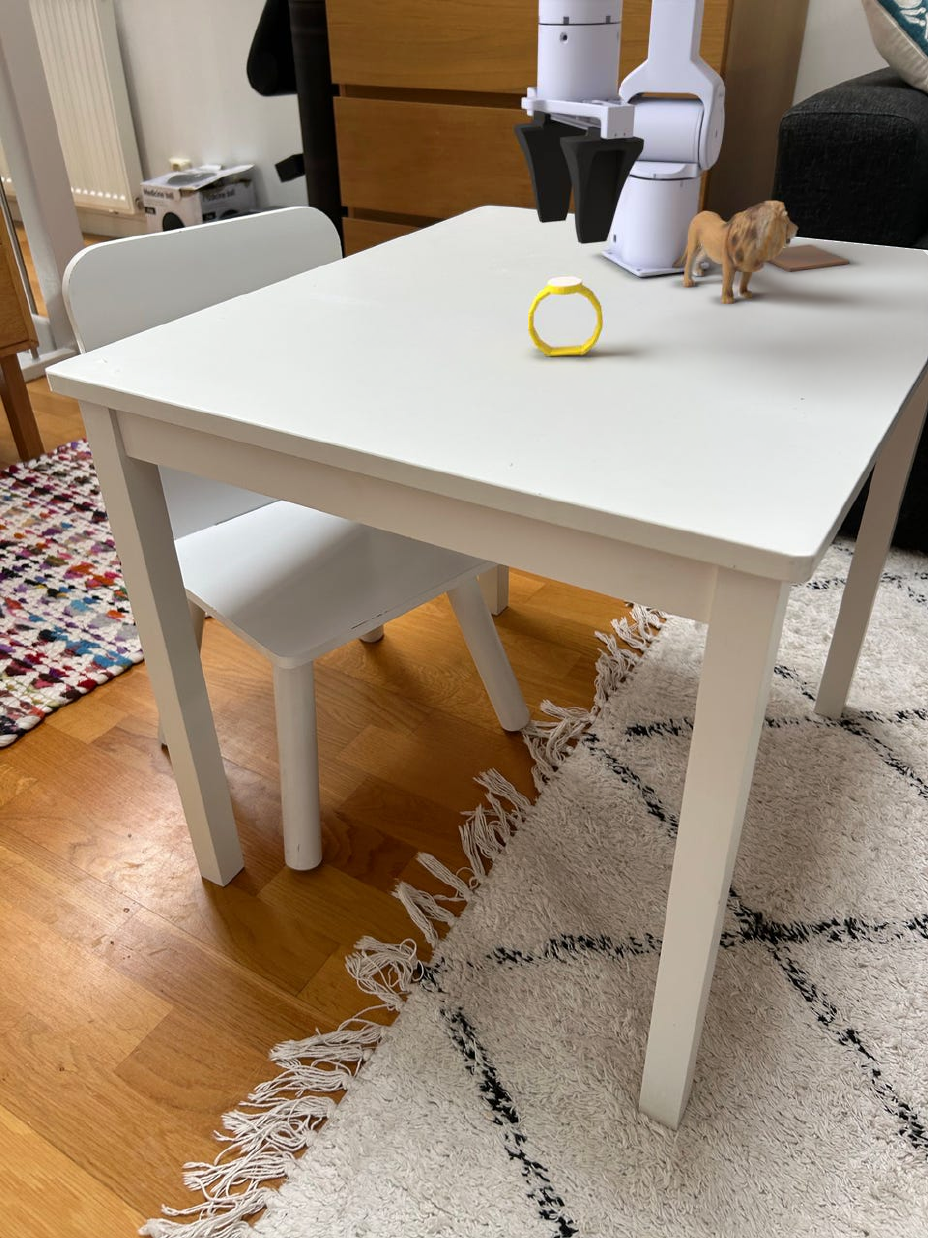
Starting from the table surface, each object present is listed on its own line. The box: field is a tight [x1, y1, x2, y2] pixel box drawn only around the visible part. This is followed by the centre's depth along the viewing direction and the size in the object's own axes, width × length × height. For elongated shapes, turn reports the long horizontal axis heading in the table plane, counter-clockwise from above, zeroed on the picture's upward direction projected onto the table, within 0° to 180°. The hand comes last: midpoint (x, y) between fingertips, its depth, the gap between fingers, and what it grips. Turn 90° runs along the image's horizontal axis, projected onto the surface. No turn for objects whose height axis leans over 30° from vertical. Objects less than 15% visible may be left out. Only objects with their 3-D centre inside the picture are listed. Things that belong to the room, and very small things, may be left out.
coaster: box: [767, 244, 850, 272], centre depth 100 cm, size 7×7×1 cm
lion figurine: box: [672, 200, 799, 305], centre depth 90 cm, size 15×5×9 cm, turn 31°
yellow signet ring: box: [527, 276, 604, 357], centre depth 78 cm, size 6×3×6 cm, turn 83°
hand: (571, 230), depth 74 cm, fingers open, 7 cm apart
